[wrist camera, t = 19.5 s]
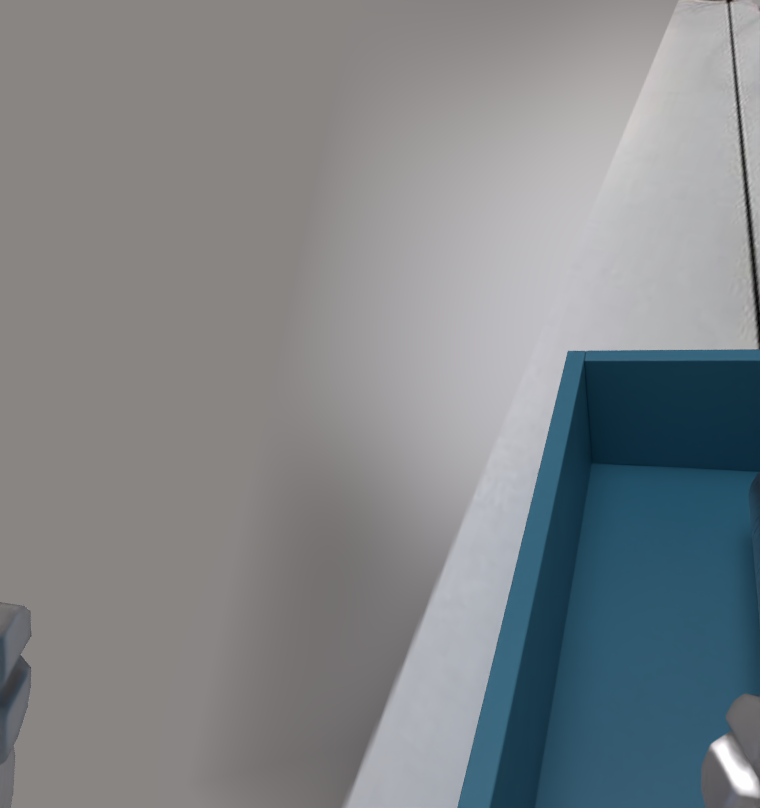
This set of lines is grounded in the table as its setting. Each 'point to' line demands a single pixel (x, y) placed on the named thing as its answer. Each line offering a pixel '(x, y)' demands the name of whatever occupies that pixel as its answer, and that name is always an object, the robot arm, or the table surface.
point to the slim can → (756, 529)
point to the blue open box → (628, 588)
